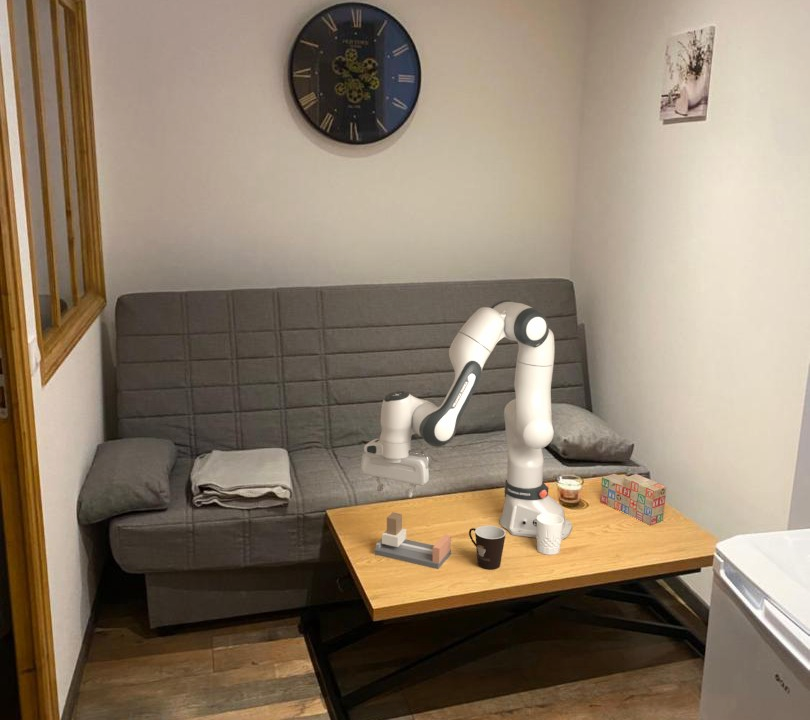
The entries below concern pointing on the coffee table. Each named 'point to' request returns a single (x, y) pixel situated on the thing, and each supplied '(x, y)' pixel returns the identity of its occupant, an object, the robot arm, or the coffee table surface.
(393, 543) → the shuttle
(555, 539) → the white cup
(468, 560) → the coffee table surface
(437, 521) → the coffee table surface
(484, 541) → the coffee mug
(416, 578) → the coffee table surface
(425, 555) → the track
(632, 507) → the stack of blocks
